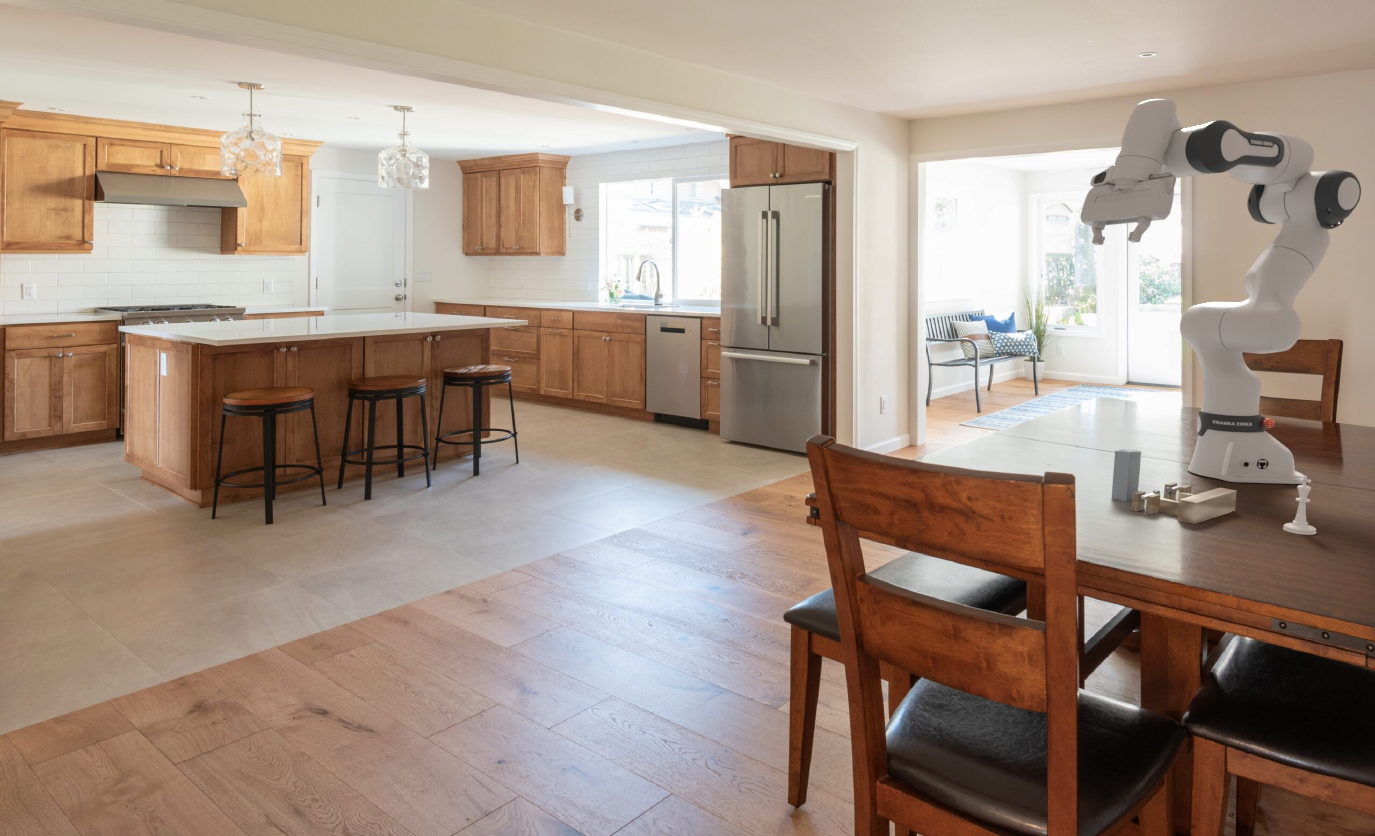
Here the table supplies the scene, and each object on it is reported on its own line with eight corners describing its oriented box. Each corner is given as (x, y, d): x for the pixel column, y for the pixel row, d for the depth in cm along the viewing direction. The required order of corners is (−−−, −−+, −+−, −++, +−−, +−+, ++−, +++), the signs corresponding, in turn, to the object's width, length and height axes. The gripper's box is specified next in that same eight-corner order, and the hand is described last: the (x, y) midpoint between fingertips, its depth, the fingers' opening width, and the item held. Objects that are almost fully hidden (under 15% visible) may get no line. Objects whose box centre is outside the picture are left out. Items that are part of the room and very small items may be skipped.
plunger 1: (1139, 500, 169) (1140, 494, 169) (1154, 496, 172) (1155, 490, 172) (1145, 501, 168) (1146, 495, 168) (1160, 497, 171) (1161, 491, 171)
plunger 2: (1163, 493, 174) (1164, 487, 174) (1177, 489, 177) (1178, 483, 177) (1169, 494, 173) (1170, 488, 173) (1183, 490, 177) (1184, 484, 176)
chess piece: (1282, 525, 160) (1288, 471, 158) (1316, 529, 157) (1322, 475, 155) (1282, 532, 156) (1288, 476, 154) (1316, 536, 153) (1322, 480, 151)
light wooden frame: (1130, 510, 170) (1131, 490, 169) (1171, 498, 179) (1173, 479, 179) (1194, 524, 161) (1196, 502, 160) (1234, 510, 170) (1236, 490, 169)
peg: (1111, 498, 179) (1115, 450, 178) (1121, 495, 182) (1125, 448, 180) (1130, 502, 176) (1134, 453, 174) (1141, 499, 178) (1145, 451, 177)
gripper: (1189, 176, 171) (1168, 245, 172) (1107, 188, 191) (1088, 250, 191) (1166, 165, 169) (1145, 234, 170) (1085, 178, 188) (1067, 241, 189)
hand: (1114, 243), depth 180 cm, fingers open, 8 cm apart
